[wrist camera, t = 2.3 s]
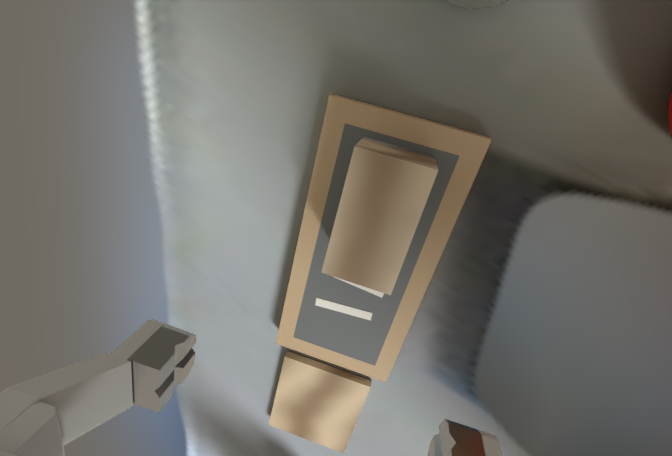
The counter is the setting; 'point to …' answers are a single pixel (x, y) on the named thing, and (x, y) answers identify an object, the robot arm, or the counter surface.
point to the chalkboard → (422, 256)
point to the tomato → (670, 114)
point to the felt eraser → (378, 213)
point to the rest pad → (318, 401)
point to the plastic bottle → (476, 3)
